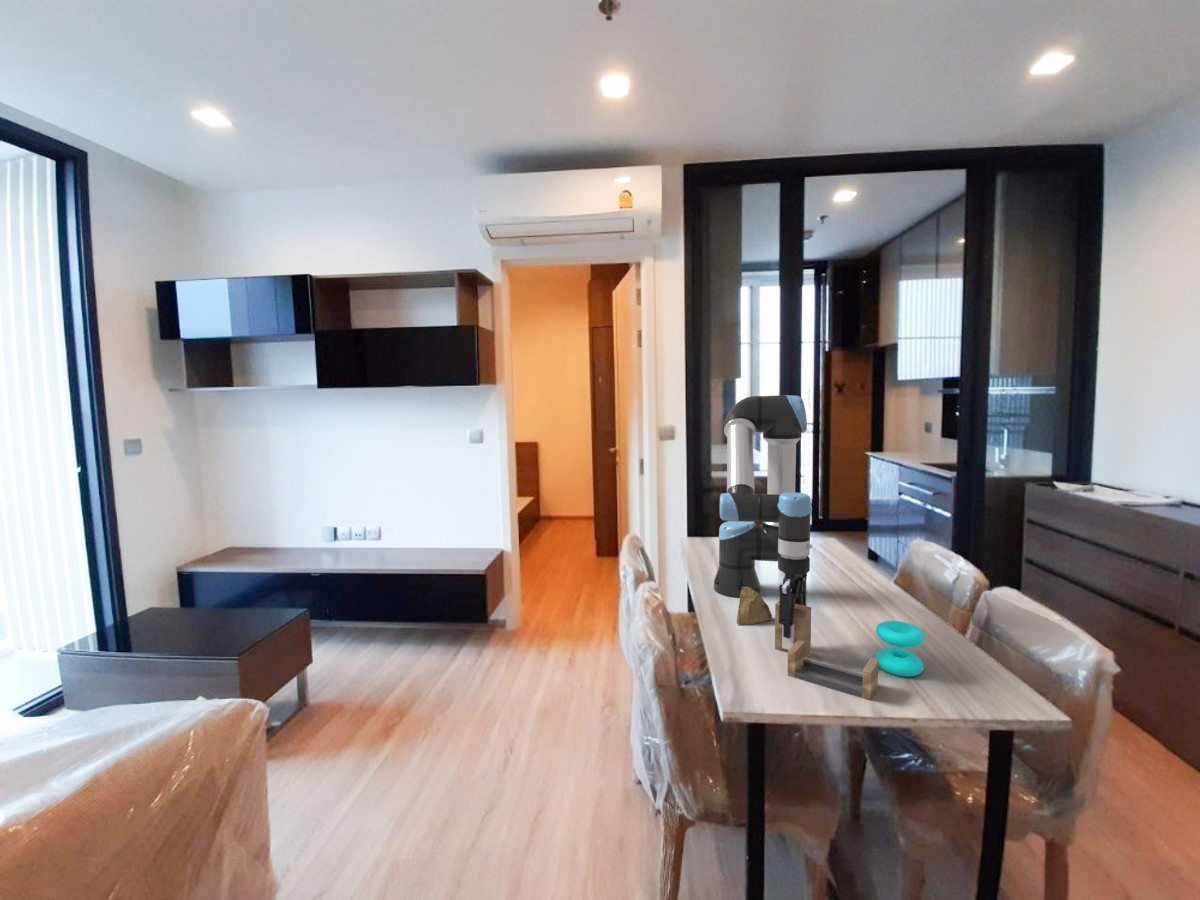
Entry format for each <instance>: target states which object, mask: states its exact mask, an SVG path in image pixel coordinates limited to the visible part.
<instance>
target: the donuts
mask: <svg viewBox="0 0 1200 900" xmlns="http://www.w3.org/2000/svg"><path fill="white" fill-rule="evenodd" d="M875 632H876V635H877V637H878V638H879V639H880V640H881V641H883V642H884V643H886V644H888V645H890V646H893V647H886V648H882V649H880V650H879V651H877V653H876V654H875V657H874V659H878V660H879V667H878V668H880V669H881V670H883V671H884V672H887V673H888V674H891V675H895V676H899V677H906V678H907V677H916V676H919V675H921V673H922V672H923V670H924V663H923V660H921V658H920V657H919V656H918V655H916V654H915V653H913V652H911V651H909V650H906V649H912V648H917V647H919V646H921V645H923V643H924V642H925V634H924V632H923V631H922V629H920V628H919V627H917V626H915V625H914V624H911V623H907V622H904V621H898V620H887V621H882V622H880V623H879V624H877V626H876V628H875Z"/></svg>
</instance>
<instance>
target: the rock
mask: <svg viewBox="0 0 1200 900" xmlns="http://www.w3.org/2000/svg"><path fill="white" fill-rule="evenodd" d="M738 603H739V604H738V610H737V616H736V624H737V626H741V625H742V626H743V625H744V626H745V625H747V626H748V625H757V624H759V623H764V622H767V621H771V620H773V614H772V612H771V610H770V607H769V605H768V603H766V601H765V600H764V599H763V597H762V596H761V594H760V593H757V592H756V591H754V590H753V589H752V588H750V587H744V586H742V588H741V593H740V597H739V601H738Z"/></svg>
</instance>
